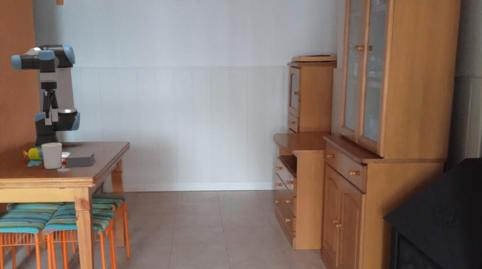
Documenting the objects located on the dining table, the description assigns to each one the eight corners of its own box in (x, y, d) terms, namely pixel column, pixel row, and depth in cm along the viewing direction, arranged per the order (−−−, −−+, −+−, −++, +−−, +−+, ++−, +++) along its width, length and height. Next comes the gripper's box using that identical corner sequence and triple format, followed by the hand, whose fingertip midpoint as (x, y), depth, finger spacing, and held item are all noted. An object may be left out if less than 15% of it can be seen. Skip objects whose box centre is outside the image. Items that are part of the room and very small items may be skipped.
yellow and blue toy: (27, 142, 259) (55, 141, 263) (28, 157, 260) (56, 156, 265) (18, 151, 232) (50, 150, 237) (19, 168, 234) (51, 166, 238)
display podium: (71, 162, 244) (71, 153, 243) (94, 161, 245) (93, 152, 245) (66, 167, 232) (65, 157, 231) (90, 166, 234) (90, 156, 233)
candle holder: (51, 170, 226) (49, 146, 224) (39, 168, 231) (37, 145, 229) (67, 166, 234) (65, 143, 232) (55, 164, 240) (53, 142, 238)
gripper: (50, 82, 215) (53, 126, 218) (62, 80, 239) (65, 119, 242) (33, 82, 214) (37, 126, 217) (47, 80, 238) (50, 120, 241)
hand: (51, 123), depth 230 cm, fingers open, 13 cm apart
